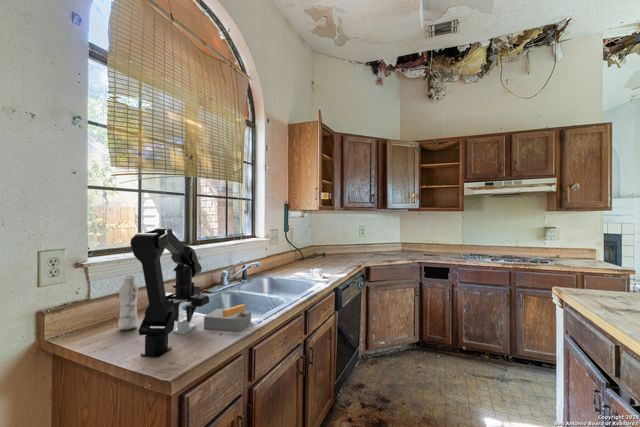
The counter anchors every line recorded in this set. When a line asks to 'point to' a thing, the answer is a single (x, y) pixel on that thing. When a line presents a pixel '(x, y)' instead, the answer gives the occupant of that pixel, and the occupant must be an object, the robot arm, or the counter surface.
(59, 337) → the counter surface
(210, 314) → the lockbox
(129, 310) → the plastic bottle
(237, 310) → the orange square pillar
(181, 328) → the cover
